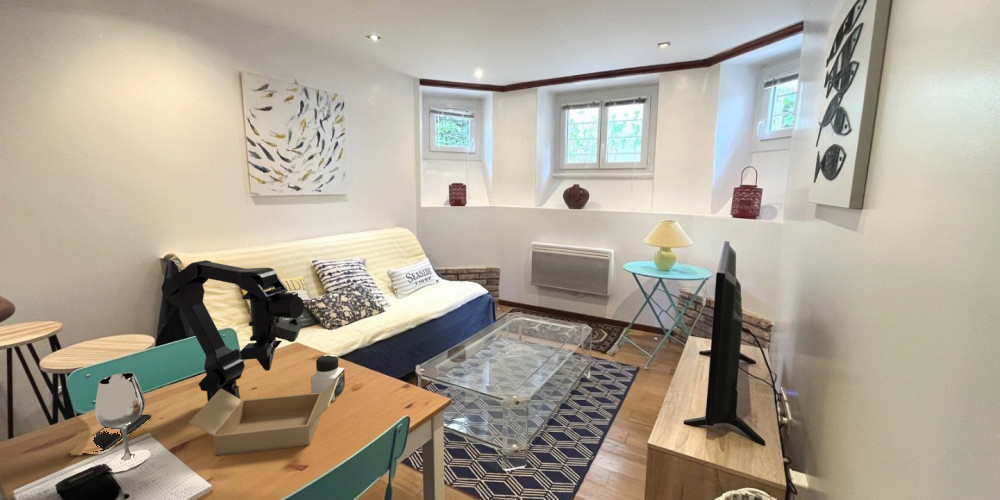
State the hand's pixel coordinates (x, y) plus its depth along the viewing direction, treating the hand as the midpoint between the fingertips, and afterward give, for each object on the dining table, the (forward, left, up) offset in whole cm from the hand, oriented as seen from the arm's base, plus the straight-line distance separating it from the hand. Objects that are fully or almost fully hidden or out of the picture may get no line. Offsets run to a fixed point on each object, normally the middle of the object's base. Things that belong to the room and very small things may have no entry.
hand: (267, 370), depth 106 cm
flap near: (-8, -10, -5) cm, 14 cm away
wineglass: (-24, -16, -12) cm, 31 cm away
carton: (+4, -10, -12) cm, 16 cm away
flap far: (+16, -10, -5) cm, 20 cm away
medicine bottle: (+14, +6, -12) cm, 20 cm away
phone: (-34, -4, -13) cm, 36 cm away
